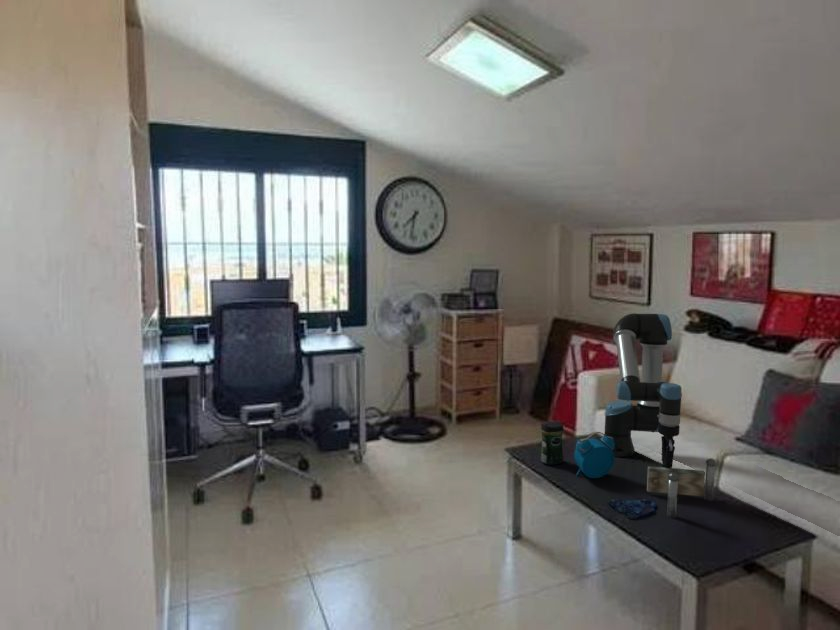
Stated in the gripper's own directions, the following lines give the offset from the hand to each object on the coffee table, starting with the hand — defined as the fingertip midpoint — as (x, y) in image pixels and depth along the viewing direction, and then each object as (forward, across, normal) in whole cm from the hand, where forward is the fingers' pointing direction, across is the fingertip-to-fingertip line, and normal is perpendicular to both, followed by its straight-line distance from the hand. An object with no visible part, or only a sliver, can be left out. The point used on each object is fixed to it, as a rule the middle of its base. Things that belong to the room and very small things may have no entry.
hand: (665, 482), depth 225 cm
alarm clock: (+4, -9, -27) cm, 28 cm away
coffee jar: (+4, -22, -44) cm, 49 cm away
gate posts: (+4, +13, +6) cm, 15 cm away
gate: (+2, +5, +3) cm, 6 cm away
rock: (+4, +18, -14) cm, 23 cm away
